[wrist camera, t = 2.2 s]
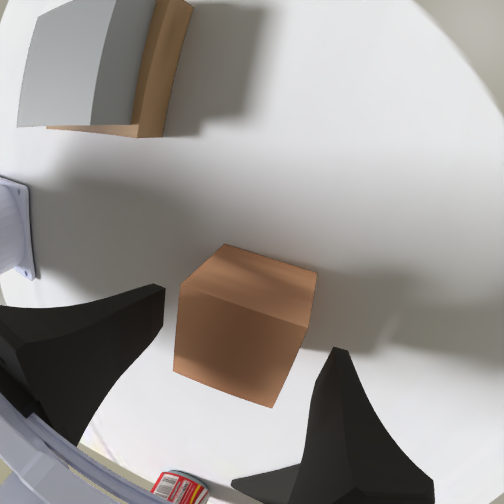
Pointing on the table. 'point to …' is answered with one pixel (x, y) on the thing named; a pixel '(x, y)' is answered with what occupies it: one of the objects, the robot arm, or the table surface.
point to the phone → (269, 485)
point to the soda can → (180, 488)
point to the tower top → (85, 63)
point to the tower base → (152, 74)
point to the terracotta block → (242, 323)
